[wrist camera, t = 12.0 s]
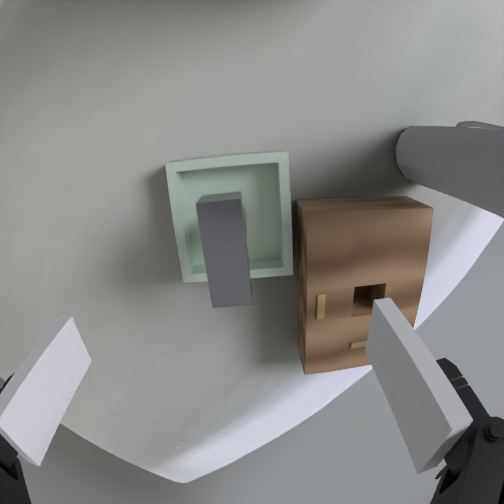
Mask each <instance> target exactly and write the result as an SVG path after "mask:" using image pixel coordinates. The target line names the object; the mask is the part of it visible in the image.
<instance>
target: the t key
mask: <svg viewBox="0 0 504 504" xmlns="http://www.w3.org/2000/svg"><path fill="white" fill-rule="evenodd" d="M196 210H197V217H198V224H199V230H200V236H201V243H202V249H203V255H204V261H205V267H206V272H207V278H208V284H209V289H210V295H211V300H212V305H213V308H217V307H230V306H241V305H252V284H251V275H250V266H249V257H248V248H247V213H246V210H245V208H244V207H243V202H242V193H241V191H237V192H228V193H219V194H211V195H203V196H201V197H200V199H199V200H198V201H197V202H196Z"/></svg>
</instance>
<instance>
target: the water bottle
mask: <svg viewBox="0 0 504 504" xmlns="http://www.w3.org/2000/svg"><path fill="white" fill-rule="evenodd" d="M469 127H480V128H469ZM483 128H485V129H483ZM395 149H396V159H397V165H398V167H399V168H400V170H401V172H402V173H403V175H404V177H406V178H408V179H409V180H411V181H413V182H414V183H416V184H419V185H422V186H425V187H428V188H431V189H434V190H437V191H439V192H442V193H445V194H447V195H450V196H453V197H455V198H458V199H460V200H463V201H465V202H468V203H470V204H473V205H475V206H478V207H480V208H482V209H485V210H487V211H489V212H492V213H494V214H496V215H498V216H501V217H503V218H504V127H501V126H497V125H492V124H487V123H482V122H476V121H465V122H460V123H458V124H457V125H456V127H448V126H410V127H409V128H408V129H406V130H405V131H404V132H403V133H401V134H400V137H399V140H398V143H397V145H396V148H395Z"/></svg>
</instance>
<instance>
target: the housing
mask: <svg viewBox="0 0 504 504" xmlns="http://www.w3.org/2000/svg"><path fill="white" fill-rule="evenodd" d="M296 215H297V253H298V349H299V353H300V358H301V362H302V366H303V371H304V375H307V374H315V373H322V372H329V371H336V370H342V369H348V368H354V367H360V366H365V365H370V364H371V362H370V360H369V358H368V356H367V354H366V352H365V349H366V343H367V338H368V333H369V327H370V321H371V315H372V309H373V302H374V300H377V299H384V298H391V299H392V301H393V302H394V303H395V305H396V306H397V307H398V308H399V310H400V311H401V312H402V314H403V315H404V317H405V318H406V319H407V321H408V322H409V323H410V325H411V326H412V327H414V323H415V319H416V315H417V310H418V306H419V301H420V297H421V292H422V287H423V281H424V276H425V270H426V264H427V258H428V251H429V244H430V236H431V227H432V217H433V208H432V207H430V206H428V205H425V204H423V203H421V202H419V201H416V200H414V199H412V198H410V197H407V196H390V197H351V198H327V199H307V200H296Z"/></svg>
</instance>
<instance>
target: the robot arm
mask: <svg viewBox="0 0 504 504" xmlns="http://www.w3.org/2000/svg"><path fill="white" fill-rule="evenodd" d="M365 352H366V354H367V356H368V358H369V360H370V362H371V365H372V367H373V369H374V371H375V373H376V375H377V378H378V380H379V382H380V384H381V387H382V389H383V391H384V393H385V395H386V398H387V400H388V402H389V405H390V407H391V409H392V412H393V414H394V416H395V419H396V421H397V423H398V426H399V428H400V431H401V433H402V436H403V438H404V440H405V443H406V445H407V448H408V450H409V453H410V456H411V458H412V461H413V463H414V466H415V469H416V471H417V474H419V473H421V472H424V471H426V470H429V469H431V468H433V467H436V466H437V465H438V464H439V463H440V462H441V461H442V460H443V459H445V461H446V463H447V465H446V466H445V467H444V468H443V469H442V470H441V471H440V472H439V473H438V475H437V476H436V478H435V479H438V478H439V477H440V476H441V475H442V476H441V479H440V481H439V483H438V486H437V488H436V491H435V493H434V496H433V498H432V501H431V503H430V504H504V420H503V419H501V418H499V417H490V416H489V414H488V413H487V412H486V410H485V408H484V407H483V406H482V404H481V402H480V401H479V399H478V398H477V396H476V394H475V393H474V392H473V390H472V388H471V387H470V386H468V383H467V381H466V380H465V378H463V377H462V374H461V372H460V371H459V370H458V368H457V367H456V366H455V365H454V364H453V363H451V362H450V361H449V360H447V359H446V358H443V359H439V360H435V359H434V357H433V356H432V354H431V353H430V351H429V350H428V349H427V347H426V346H425V345H424V343H423V342H422V340H421V339H420V337H419V336H418V334H417V333H416V332H415V330H414V329H413V327H412V326H411V325H410V323H409V322H408V321H407V319H406V318H405V317H404V315H403V314H402V312H401V311H400V310H399V308H398V307H397V306H396V305H395V303H394V302H393V301H392V299H391V298H384V299H377V300H374V302H373V309H372V315H371V321H370V327H369V333H368V338H367V343H366V349H365ZM91 362H92V360H91V358H90V356H89V354H88V352H87V350H86V348H85V346H84V343H83V341H82V339H81V337H80V334H79V332H78V330H77V328H76V325H75V323H74V320H73V318H72V316H59V317H58V318H57V320H56V321H55V322H54V323H53V324H52V326H51V327H50V328H49V329H48V331H47V332H46V333H45V334H44V335H43V337H42V338H41V339H40V340H39V342H38V343H37V344H36V346H35V347H34V348H33V349H32V351H31V352H30V353H29V355H28V356H27V357H26V359H25V360H24V361H23V363H22V364H21V365H20V367H19V368H18V369H17V371H16V372H15V373H14V374H13V375H11V376H10V377H9V378H8V379H7V381H6V382H5V384H4V385H3V388H1V389H0V504H31V501H30V498H29V494H28V491H27V487H26V484H25V480H24V476H23V471H22V467H21V463H20V461H19V459H18V458H17V457H16V456H17V454H18V453H19V454H20V455H21V456H22V457H23V458H24V459H25V460H26V461H28V462H30V463H32V464H35V465H37V466H40V464H41V462H42V460H43V457H44V455H45V453H46V451H47V448H48V446H49V444H50V442H51V440H52V437H53V435H54V433H55V431H56V429H57V427H58V425H59V423H60V421H61V419H62V417H63V415H64V413H65V411H66V409H67V407H68V405H69V403H70V401H71V399H72V397H73V395H74V393H75V391H76V390H77V388H78V386H79V384H80V382H81V380H82V378H83V377H84V375H85V373H86V371H87V369H88V368H89V366H90V364H91Z"/></svg>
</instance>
